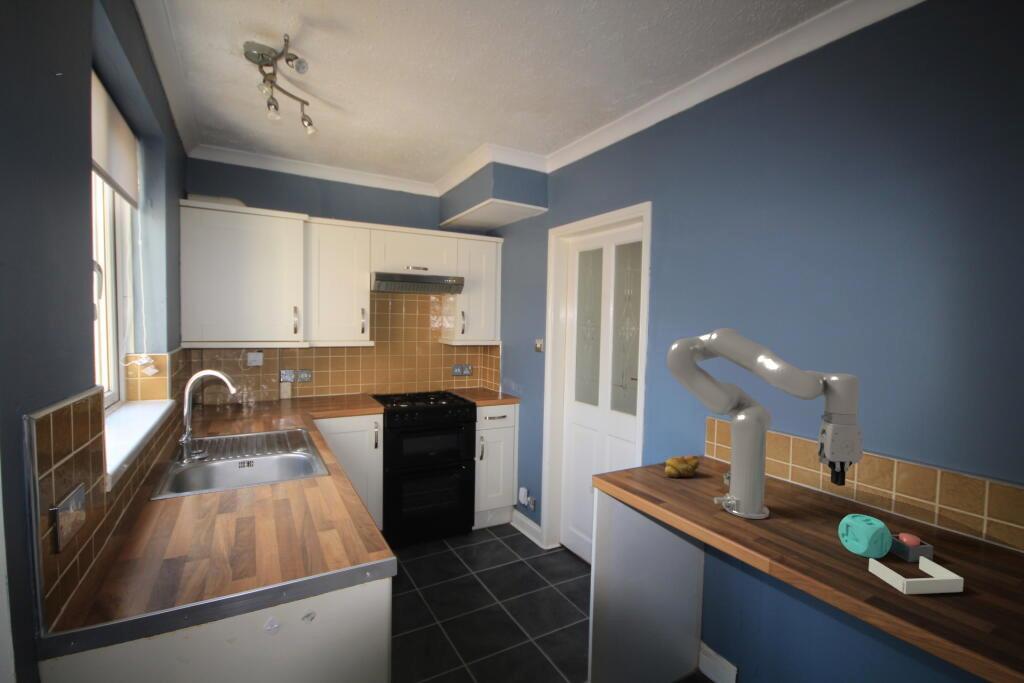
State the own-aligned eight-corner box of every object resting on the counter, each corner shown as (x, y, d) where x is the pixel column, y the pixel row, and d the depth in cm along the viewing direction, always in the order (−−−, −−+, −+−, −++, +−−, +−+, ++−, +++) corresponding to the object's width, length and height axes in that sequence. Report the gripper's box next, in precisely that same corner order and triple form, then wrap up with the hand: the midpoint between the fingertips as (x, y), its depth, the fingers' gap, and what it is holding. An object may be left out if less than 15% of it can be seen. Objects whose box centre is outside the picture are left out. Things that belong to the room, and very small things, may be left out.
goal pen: (905, 594, 101) (906, 580, 101) (868, 570, 110) (869, 558, 110) (962, 591, 102) (963, 578, 102) (921, 568, 111) (922, 556, 111)
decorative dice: (867, 560, 115) (869, 529, 114) (836, 544, 122) (838, 515, 122) (891, 556, 117) (893, 525, 116) (860, 541, 125) (861, 512, 124)
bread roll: (671, 481, 168) (672, 459, 168) (656, 472, 177) (656, 451, 177) (701, 477, 172) (702, 456, 171) (684, 469, 181) (685, 449, 181)
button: (908, 554, 115) (909, 540, 115) (894, 546, 119) (895, 533, 119) (923, 554, 116) (924, 540, 115) (908, 546, 120) (909, 532, 119)
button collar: (908, 562, 114) (909, 547, 114) (885, 549, 120) (886, 534, 120) (932, 561, 115) (933, 546, 114) (908, 548, 121) (909, 534, 121)
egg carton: (741, 490, 161) (742, 478, 160) (720, 484, 166) (720, 472, 166) (754, 483, 167) (755, 472, 167) (733, 477, 173) (734, 466, 173)
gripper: (825, 422, 123) (822, 490, 124) (877, 421, 124) (874, 488, 125) (805, 416, 131) (802, 480, 132) (854, 415, 132) (851, 478, 133)
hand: (837, 484), depth 128 cm, fingers closed
